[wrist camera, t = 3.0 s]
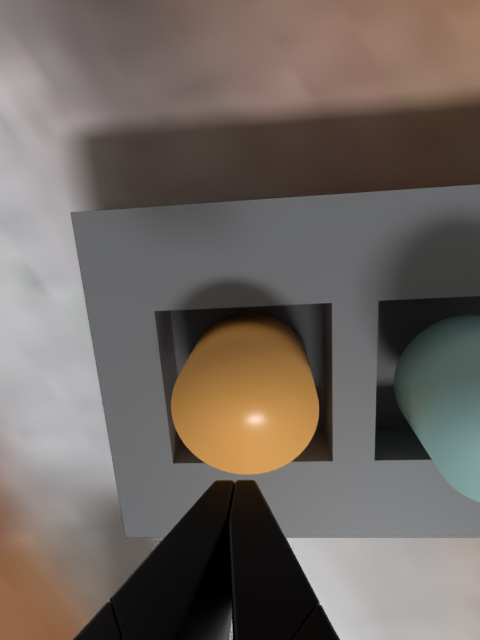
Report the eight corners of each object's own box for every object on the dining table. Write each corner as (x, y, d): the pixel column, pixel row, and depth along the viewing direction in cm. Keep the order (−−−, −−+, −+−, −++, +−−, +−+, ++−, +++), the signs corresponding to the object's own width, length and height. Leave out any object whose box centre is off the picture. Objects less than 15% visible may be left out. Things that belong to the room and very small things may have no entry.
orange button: (307, 309, 14) (318, 336, 11) (310, 420, 16) (319, 473, 13) (185, 314, 15) (163, 343, 12) (196, 423, 16) (178, 475, 13)
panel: (840, 161, 13) (977, 150, 10) (741, 486, 16) (828, 537, 14) (103, 211, 15) (70, 212, 12) (145, 491, 18) (125, 537, 16)
